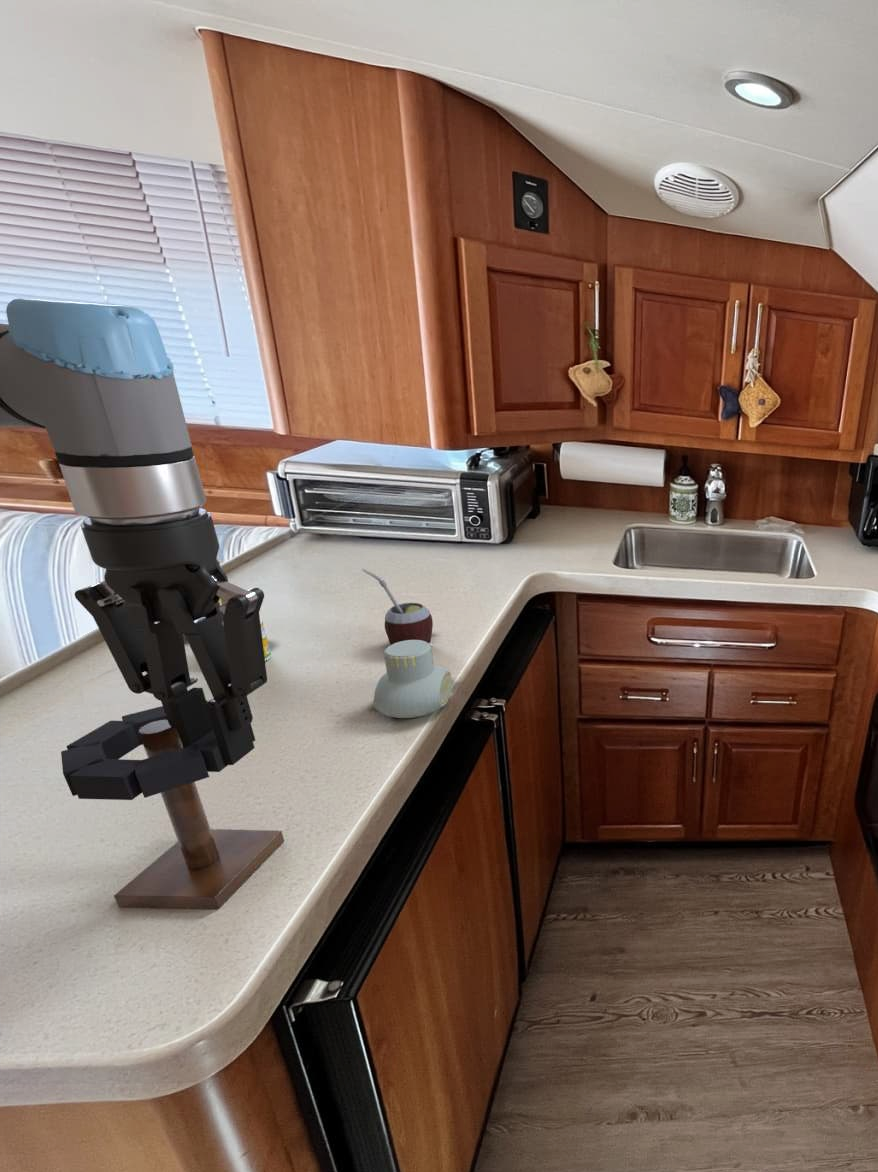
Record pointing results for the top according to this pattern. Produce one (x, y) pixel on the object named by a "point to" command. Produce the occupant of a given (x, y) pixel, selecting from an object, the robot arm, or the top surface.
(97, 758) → the ring
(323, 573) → the top surface
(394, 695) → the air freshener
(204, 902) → the stand
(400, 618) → the mate gourd
